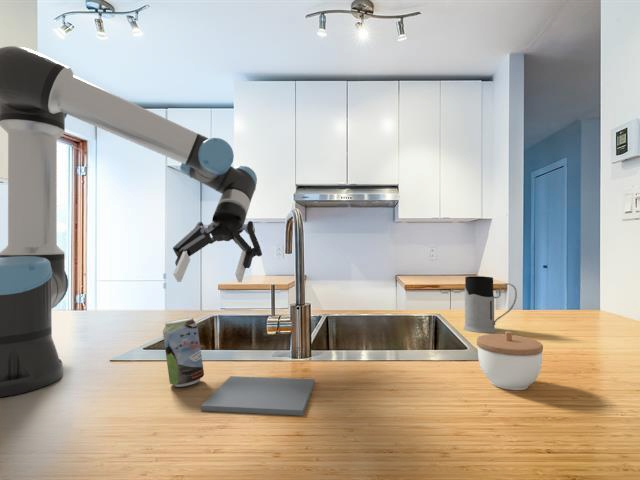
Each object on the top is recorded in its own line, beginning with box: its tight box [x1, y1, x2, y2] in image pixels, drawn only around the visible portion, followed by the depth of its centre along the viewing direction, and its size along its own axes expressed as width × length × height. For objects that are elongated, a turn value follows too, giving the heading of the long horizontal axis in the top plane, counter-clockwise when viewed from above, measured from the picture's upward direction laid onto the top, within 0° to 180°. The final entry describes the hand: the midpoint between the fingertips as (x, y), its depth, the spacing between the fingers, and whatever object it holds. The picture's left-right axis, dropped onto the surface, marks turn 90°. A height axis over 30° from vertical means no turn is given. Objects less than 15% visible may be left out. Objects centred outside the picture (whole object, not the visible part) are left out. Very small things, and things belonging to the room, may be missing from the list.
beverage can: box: [162, 317, 205, 388], centre depth 72 cm, size 6×7×12 cm
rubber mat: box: [200, 375, 316, 417], centre depth 66 cm, size 16×13×1 cm
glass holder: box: [463, 275, 518, 334], centre depth 111 cm, size 9×14×15 cm, turn 54°
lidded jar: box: [476, 331, 544, 391], centre depth 70 cm, size 11×11×9 cm
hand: (207, 278), depth 82 cm, fingers open, 13 cm apart
